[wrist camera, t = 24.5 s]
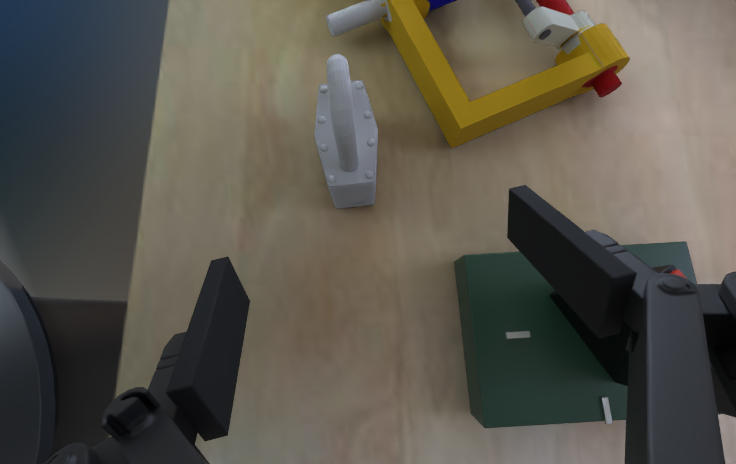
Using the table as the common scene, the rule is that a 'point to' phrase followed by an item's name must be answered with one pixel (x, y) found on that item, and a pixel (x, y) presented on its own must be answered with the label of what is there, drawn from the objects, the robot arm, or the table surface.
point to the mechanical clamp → (473, 119)
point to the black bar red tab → (614, 346)
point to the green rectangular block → (536, 344)
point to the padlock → (346, 137)
